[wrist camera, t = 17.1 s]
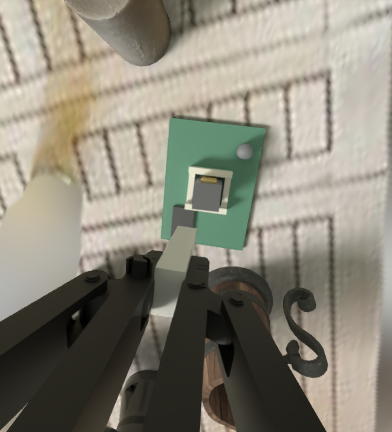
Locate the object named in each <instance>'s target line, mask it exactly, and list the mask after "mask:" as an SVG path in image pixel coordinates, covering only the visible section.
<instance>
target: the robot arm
mask: <svg viewBox="0 0 392 432" xmlns="http://www.w3.org/2000/svg"><path fill="white" fill-rule="evenodd" d="M196 233H197V228H190V227H184V226H177V228H176V230H175V232H174V234H173V235H172V237H171V239H170V241H169V243H168V245H167V246H166V248H165V250H164V252H162V251H155V250H152V251H150V252H148V253H147V254H146V255H133V256H130V257H129V258H127V259H126V274H125V276H124V277H123V278H122V279H108V275H107V273H105V272H103V271H99V270H92V271H88V272H85V273H83V274H81V275H79V276H77V277H76V278H74V279H72V280H71V281H69V282H67V283H65V284H64V285H62V286H60V287H59V288H57V289H55V290H53V291H52V292H50V293H48V294H47V295H45V296H43V297H42V298H40V299H38V300H37V301H35V302H33V303H31V304H30V305H28V306H26V307H24V308H23V309H21V310H19V311H18V312H16V313H14V314H13V315H11V316H9V317H7V318H6V319H4V320H2V321H1V322H0V430H1V429H2V428H3V427H4V426H5V425H6V424H7V423H8V422H9V421H10V420H11V419H12V418H13V417H14V416H15V415H16V414H17V413H18V412H19V411H20V410H21V409H22V408H23V407H24V406H25V405H26V404H27V403H28V402H29V403H28V404H27V405H26V407H25V408H24V409H23V411H22V412H21V413H20V414H19V416H18V417H17V418H16V420H15V421H14V423H13V424H12V425H11V426H10V428H9V429H8V430H7V432H200V418H201V402H202V386H203V370H204V354H205V339H206V338H207V339H209V340H211V341H213V342H214V347H215V351H216V355H217V359H218V362H219V366H220V370H221V374H222V378H223V381H224V385H225V389H226V393H227V397H228V400H229V404H230V408H231V412H232V416H233V419H234V423H235V427H236V431H237V432H326V430H325V428H324V426H323V425H322V423H321V421H320V420H319V418H318V416H317V414H316V413H315V411H314V409H313V408H312V406H311V404H310V402H309V401H308V399H307V397H306V395H305V394H304V392H303V390H302V389H301V387H300V385H299V383H298V382H297V380H296V378H295V376H294V375H293V373H292V371H291V370H290V368H289V366H288V364H287V363H286V361H285V359H284V357H283V356H282V354H281V352H280V351H279V349H278V347H277V345H276V344H275V342H274V340H273V339H272V337H271V335H270V333H269V332H268V330H267V328H266V326H265V325H264V323H263V321H262V320H261V318H260V316H259V314H258V313H257V311H256V309H255V307H254V306H253V304H252V302H251V301H250V299H249V298H248V297H247V296H245V295H244V294H242V293H239V292H234V291H231V292H226V293H225V294H224V295H223V296H220V295H218V294H216V293H214V292H213V291H211V290H210V288H209V286H208V277H209V261H208V259H207V258H205V257H198V256H193V255H194V248H195V240H196ZM151 307H152V312H151V314H153V315H159V316H165V317H171V318H172V322H171V325H170V329H169V333H168V336H167V340H166V344H165V347H164V351H163V355H162V358H161V362H160V366H159V369H158V372H156V371H142V372H138V373H136V374H134V375H132V376H131V377H130V378H129V379H128V380H127V382H126V384H125V387H124V389H123V392H122V398H121V408H120V418H119V424H118V426H117V429H116V430H115V429H113V428H111V427H109V426H107V423H108V420H109V418H110V415H111V413H112V410H113V408H114V405H115V403H116V400H117V398H118V395H119V393H120V391H121V388H122V386H123V383H124V381H125V378H126V376H127V373H128V371H129V368H130V366H131V363H132V361H133V358H134V356H135V353H136V351H137V349H138V346H139V344H140V341H141V339H142V336H143V334H144V331H145V329H146V326H147V324H148V321H149V312H150V310H151ZM77 311H78V315H77V316H76V317H74V318H72V316H73V315H74V314H75V313H76V312H77Z"/></svg>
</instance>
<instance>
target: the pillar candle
mask: <svg viewBox="0 0 392 432" xmlns="http://www.w3.org/2000/svg"><path fill="white" fill-rule="evenodd" d="M64 1H65V2H66V4H67V6H68V7H71V8H72V9H73V11H74V12H76V13H77V14H78V15H79V16H80V17H81V18H82V19H83V20H84V21H85V22H86V23H87V24H88V25H89V26H90V27H91V28H92V29H93V30H94V31H96V33H97V34H99V35H100V36H101V37H102V38H103V39H104V40H105V41H106V42H107V43H108V44H109V45H110V46H111V47H112V48H113V49H114V50H115V51H116V52H117V53H118V54H119V55H120V56H121V57H122V58H123V59H125V60H126V61H128V62H129V63H131V64H134V65H137V66H148V65H151V64H153V63H155V62H157V61H158V60H159V59H160V58H161V57H162V56H163V54H164V53H165V51H166V49H167V47H168V44H169V40H170V34H171V28H170V21H169V18H168V15H167V13H166V10H165V8H164V5H163V2H162V0H64Z"/></svg>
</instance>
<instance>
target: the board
mask: <svg viewBox="0 0 392 432" xmlns="http://www.w3.org/2000/svg"><path fill="white" fill-rule="evenodd" d="M265 131H266V129H265V128H256V127H247V126H238V125H230V124H221V123H212V122H203V121H194V120H185V119H177V118H170V124H169V137H168V150H167V164H166V177H165V190H164V203H163V216H162V229H161V239H167V240H170V239H171V237H172V235H173V234H174V232H175V230H176V228H177V226H184V227H190V228H197V233H196V240H195V244H201V245H208V246H215V247H222V248H228V249H235V250H243V245H244V240H245V234H246V229H247V224H248V219H249V214H250V209H251V203H252V198H253V193H254V188H255V183H256V177H257V172H258V167H259V162H260V157H261V152H262V146H263V141H264V136H265ZM203 176H207V177H217V178H219V179H221V181H222V189H221V198H220V206H219V212H214V211H205V210H196V209H192V201H193V189H194V182H195V180H196V179H197V178H198V177H203Z"/></svg>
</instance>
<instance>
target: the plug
mask: <svg viewBox="0 0 392 432" xmlns="http://www.w3.org/2000/svg"><path fill="white" fill-rule="evenodd" d="M221 189H222V181H221V179H219V178H217V177H207V176H203V177H198V178H197V179H196V180H195V182H194V189H193V201H192V209H196V210H205V211H214V212H219V206H220V198H221Z"/></svg>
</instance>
